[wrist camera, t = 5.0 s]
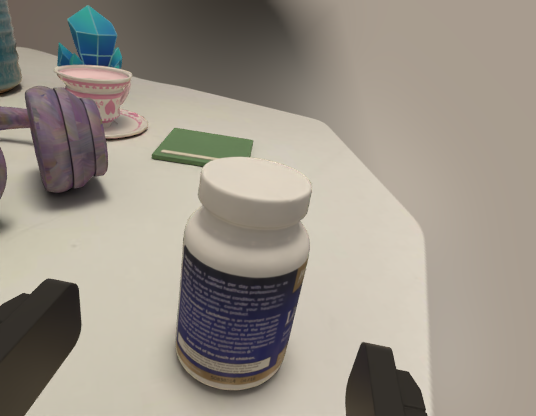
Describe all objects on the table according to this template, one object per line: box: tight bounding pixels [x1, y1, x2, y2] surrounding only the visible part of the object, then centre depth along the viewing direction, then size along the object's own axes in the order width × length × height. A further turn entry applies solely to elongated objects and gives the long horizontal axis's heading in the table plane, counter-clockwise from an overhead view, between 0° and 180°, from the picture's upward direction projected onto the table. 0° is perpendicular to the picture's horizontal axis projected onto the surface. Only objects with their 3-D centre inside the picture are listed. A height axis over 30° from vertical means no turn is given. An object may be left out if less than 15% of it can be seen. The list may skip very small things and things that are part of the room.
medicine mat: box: [152, 128, 253, 166], centre depth 47 cm, size 10×10×1 cm
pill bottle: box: [176, 157, 312, 390], centre depth 19 cm, size 6×6×10 cm
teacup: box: [54, 65, 148, 138], centre depth 48 cm, size 12×12×6 cm
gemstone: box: [57, 5, 122, 69], centre depth 57 cm, size 7×9×12 cm
